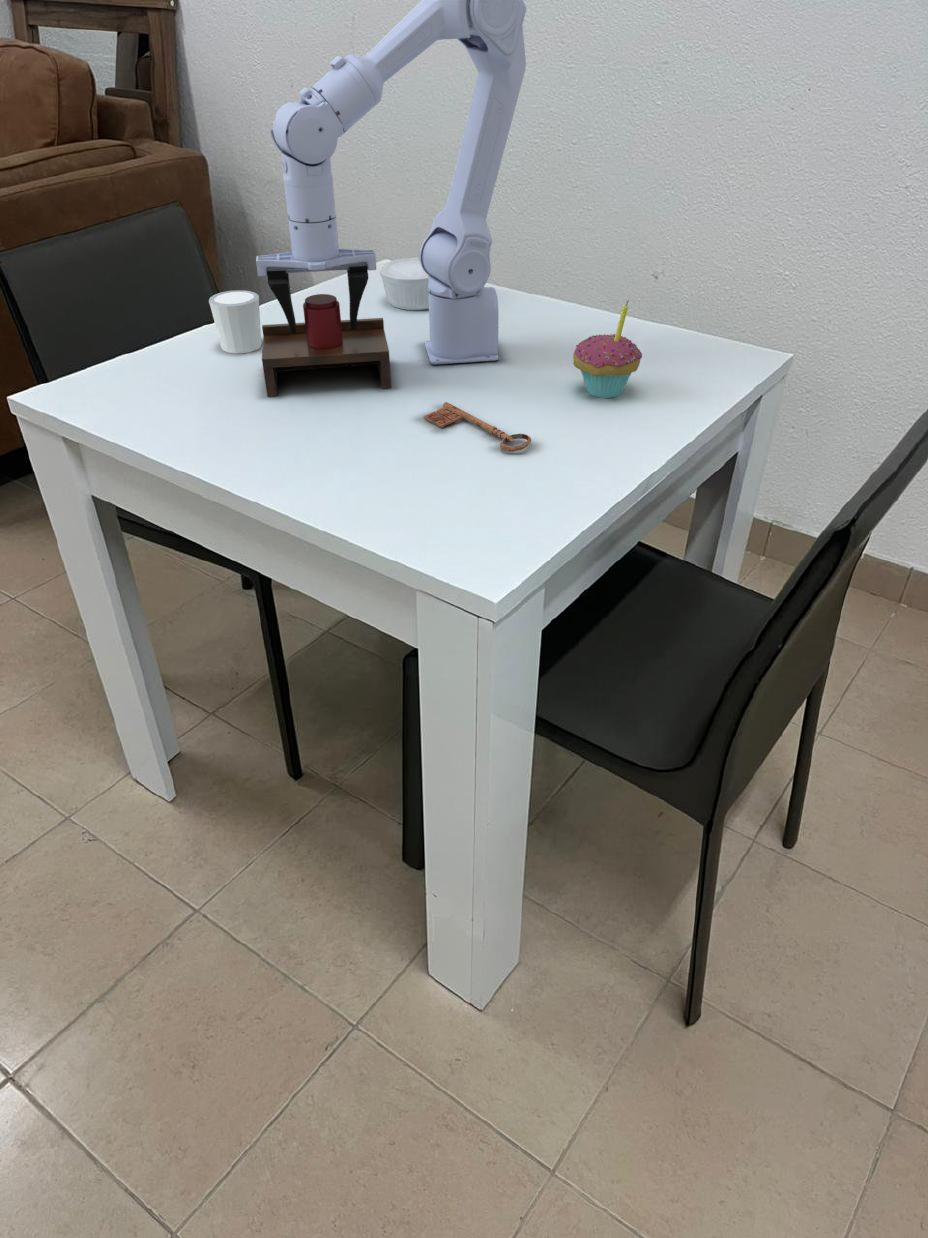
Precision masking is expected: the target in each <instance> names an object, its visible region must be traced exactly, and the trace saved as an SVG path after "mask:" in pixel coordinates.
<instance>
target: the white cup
mask: <svg viewBox="0 0 928 1238" xmlns="http://www.w3.org/2000/svg"><path fill="white" fill-rule="evenodd" d="M208 304H209V306H210V310H211V313H212V314H211V315H212V318H213V321H214V325H215V329H216V332H217V336H218V340H219V344H220V347H221V350H222V351H223V352H225V353H228V354H235V355H236V354H237V355H238V354H247V353H253V352H254V351H257V350H258V349H260V348H261V347H262V333H261V332H262V331H261V330H262V328H261V311H260V296H259V294H258V293H256V292H254V291H251V290H241V289H239V290H237V289H236V290H227V291H226V290H225V291H221V292H218V293H215V294H213V295H211V296H210V297H209V299H208Z"/></svg>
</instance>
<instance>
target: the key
mask: <svg viewBox="0 0 928 1238" xmlns="http://www.w3.org/2000/svg"><path fill="white" fill-rule="evenodd" d="M423 419H425V420H426V421H428V422H430V423H432V424H433V425H435V426H437V427H439V428H444V427H446V426H448V425H450V424H452V423H454V422H457V421H459V420H462V419H464V420H466V421H468V422H469V423H471V424H473V425H475V426H477V427H479V428H481V429H482V430H485V431H486V432H488V433H489V434H490V435H493V436H495V437H497V438H499V439H500V440H501V441H500V448H501V449H502V450H503V451H506V452H519V451H521V450H524V449H526V448H528V447H529V446H530V445H531V443H532V437H531V436H530V435H528V434H524V433H514V434H511V435H509V434H507V433H506V432H505V431H504V430H501V429H499V428H497V427H496V426H495V425H494V426H493V425H491V424H489V423H487V422H485V421H484V420H482V419H480V418H477V416H474V415H472V414H470V413H468V412H466V411H464V410H462V409H461V408H459V407H457V406H455V405H453V404H451V403H449V402H448V401H445V402H444V403H443V404H442V407H441V408H439V409H436V410H434V411H432V412H430V413H427V414H425V415H424V416H423ZM518 439H519V440H520V439H522V440H525V441H526V442H524V443H522V444H519V445H514V446H509V445H506V443H514V442H515V440H518Z"/></svg>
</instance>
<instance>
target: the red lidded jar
mask: <svg viewBox="0 0 928 1238" xmlns="http://www.w3.org/2000/svg"><path fill="white" fill-rule="evenodd" d="M340 306H341V305H340V301H338V299H337V297H336V296H335V295H334V294H333V295H332V294H328V293H316V294H312V295H309V296H307V297H306V298H305V299H304V303H303V304H302V308H303V318H304V323H305V328H306V336H307V344H308V345H309V346H311V347H313V348H319V349H326V348H333V347H336V346H339V345H340V344H342V342H343V337H342V326H341V320H342V319H341V318H342V317H341V315H342V314H341V307H340Z"/></svg>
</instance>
